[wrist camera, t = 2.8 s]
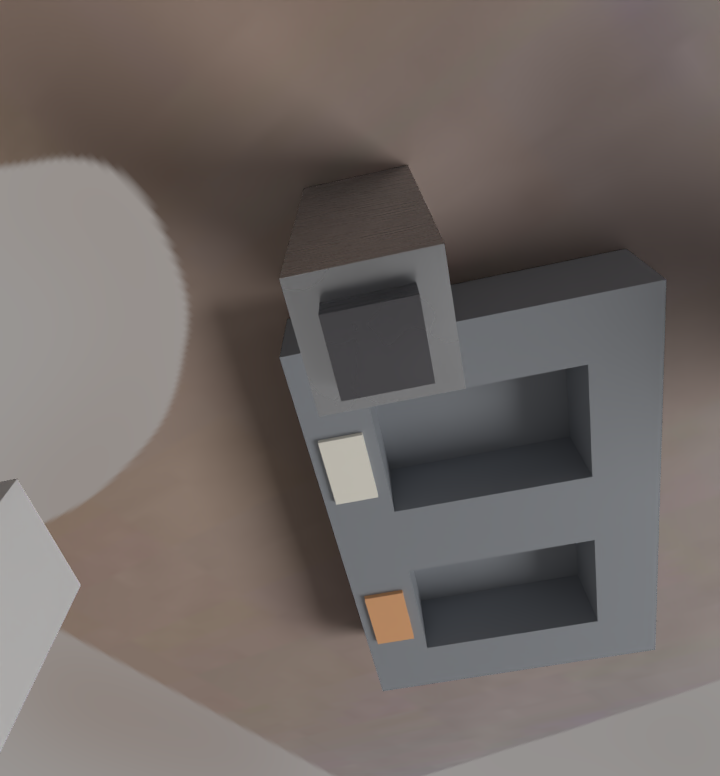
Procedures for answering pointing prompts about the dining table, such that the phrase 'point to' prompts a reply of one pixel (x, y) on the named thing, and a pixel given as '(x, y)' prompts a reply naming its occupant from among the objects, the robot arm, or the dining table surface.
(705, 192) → the dining table surface
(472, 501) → the socket board
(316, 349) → the plug
